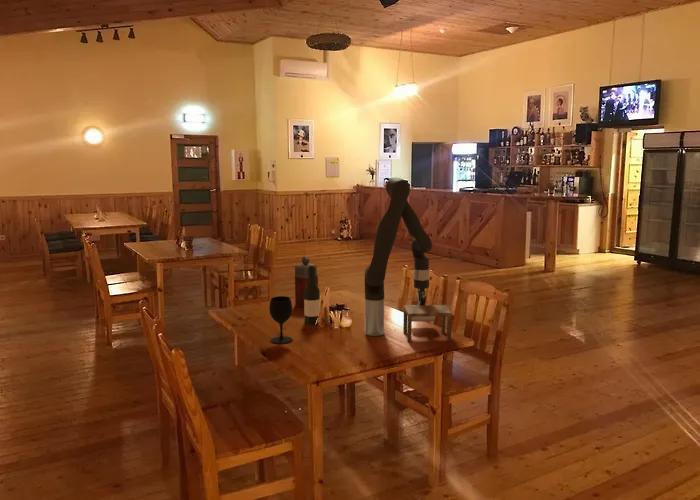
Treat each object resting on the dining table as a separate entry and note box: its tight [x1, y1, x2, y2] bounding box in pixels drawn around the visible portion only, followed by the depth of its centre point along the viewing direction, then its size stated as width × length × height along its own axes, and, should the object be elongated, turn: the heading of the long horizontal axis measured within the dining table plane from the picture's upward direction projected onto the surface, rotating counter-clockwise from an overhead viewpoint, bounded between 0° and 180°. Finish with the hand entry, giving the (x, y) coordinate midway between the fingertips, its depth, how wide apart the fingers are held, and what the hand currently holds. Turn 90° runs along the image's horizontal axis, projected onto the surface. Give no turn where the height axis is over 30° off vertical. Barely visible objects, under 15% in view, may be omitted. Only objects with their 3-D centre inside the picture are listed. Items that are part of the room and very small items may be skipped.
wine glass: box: [269, 295, 294, 345], centre depth 267 cm, size 10×10×20 cm
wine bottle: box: [303, 263, 321, 325], centre depth 295 cm, size 8×8×30 cm
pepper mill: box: [294, 256, 319, 308], centre depth 329 cm, size 9×11×28 cm
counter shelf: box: [402, 304, 453, 343], centre depth 273 cm, size 20×14×14 cm
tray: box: [412, 303, 436, 323], centre depth 286 cm, size 12×10×7 cm
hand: (421, 312), depth 286 cm, fingers closed on tray, 1 cm apart
